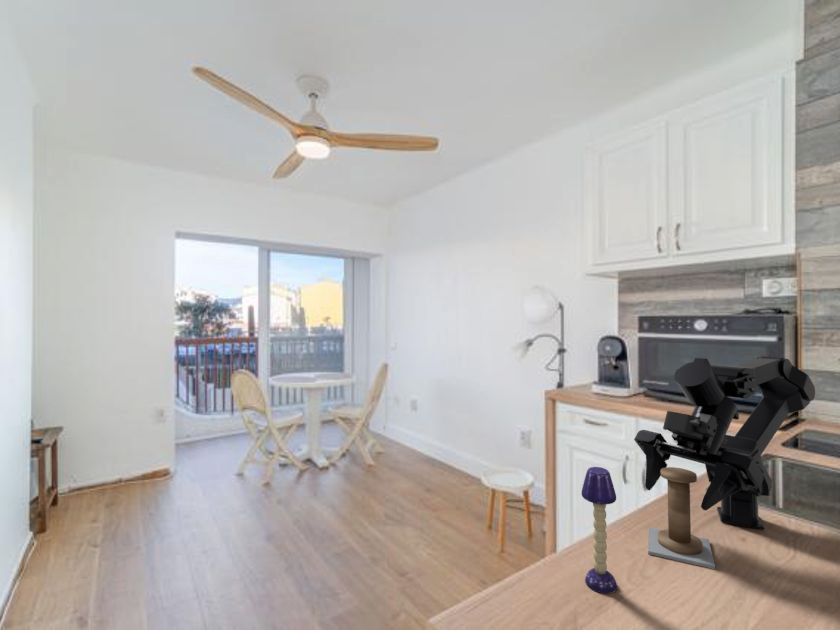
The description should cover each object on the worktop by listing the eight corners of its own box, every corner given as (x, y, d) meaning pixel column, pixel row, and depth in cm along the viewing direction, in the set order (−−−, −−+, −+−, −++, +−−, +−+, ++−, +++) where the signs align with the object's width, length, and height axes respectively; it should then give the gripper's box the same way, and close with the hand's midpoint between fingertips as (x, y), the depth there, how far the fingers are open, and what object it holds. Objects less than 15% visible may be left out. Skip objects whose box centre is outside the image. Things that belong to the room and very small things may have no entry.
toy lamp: (621, 597, 59) (619, 476, 59) (585, 593, 60) (584, 474, 60) (613, 577, 64) (611, 464, 64) (580, 573, 65) (578, 462, 65)
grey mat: (649, 530, 78) (649, 527, 78) (708, 542, 74) (708, 539, 74) (648, 554, 70) (648, 550, 70) (714, 569, 66) (714, 565, 66)
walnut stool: (669, 531, 76) (667, 463, 77) (709, 546, 71) (708, 473, 71) (650, 542, 73) (649, 471, 73) (691, 559, 68) (689, 482, 68)
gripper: (639, 386, 82) (601, 454, 77) (753, 403, 66) (716, 490, 60) (664, 423, 86) (630, 489, 81) (778, 446, 70) (745, 532, 64)
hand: (673, 498), depth 71 cm, fingers open, 9 cm apart
